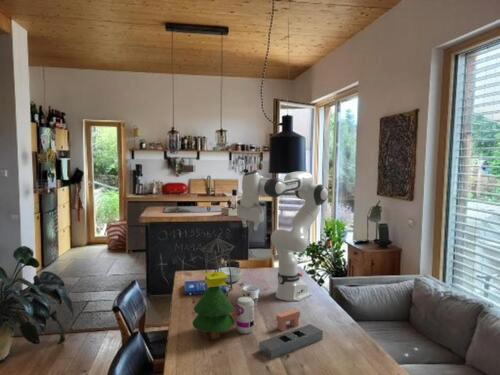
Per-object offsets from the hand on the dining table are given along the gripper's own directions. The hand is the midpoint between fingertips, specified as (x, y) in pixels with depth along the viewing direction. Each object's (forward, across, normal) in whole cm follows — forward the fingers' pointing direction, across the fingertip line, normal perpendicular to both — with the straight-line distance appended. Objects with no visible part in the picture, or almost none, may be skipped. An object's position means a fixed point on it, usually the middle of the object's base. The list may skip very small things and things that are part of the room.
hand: (250, 228), depth 194 cm
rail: (+44, -41, +6) cm, 61 cm away
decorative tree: (+44, -14, +30) cm, 55 cm away
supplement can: (+45, -18, +15) cm, 50 cm away
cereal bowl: (+45, +46, -16) cm, 66 cm away
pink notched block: (+44, -27, -4) cm, 52 cm away
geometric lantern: (+45, +25, +5) cm, 52 cm away
